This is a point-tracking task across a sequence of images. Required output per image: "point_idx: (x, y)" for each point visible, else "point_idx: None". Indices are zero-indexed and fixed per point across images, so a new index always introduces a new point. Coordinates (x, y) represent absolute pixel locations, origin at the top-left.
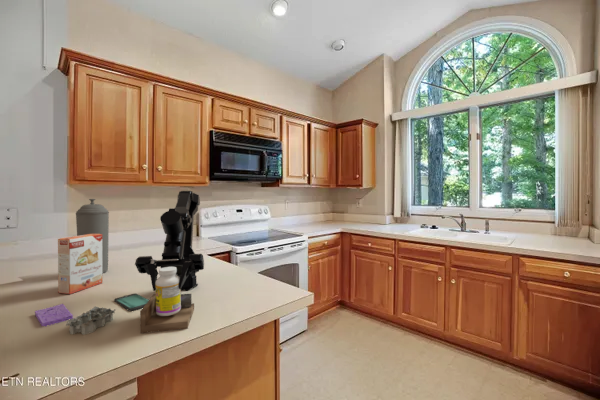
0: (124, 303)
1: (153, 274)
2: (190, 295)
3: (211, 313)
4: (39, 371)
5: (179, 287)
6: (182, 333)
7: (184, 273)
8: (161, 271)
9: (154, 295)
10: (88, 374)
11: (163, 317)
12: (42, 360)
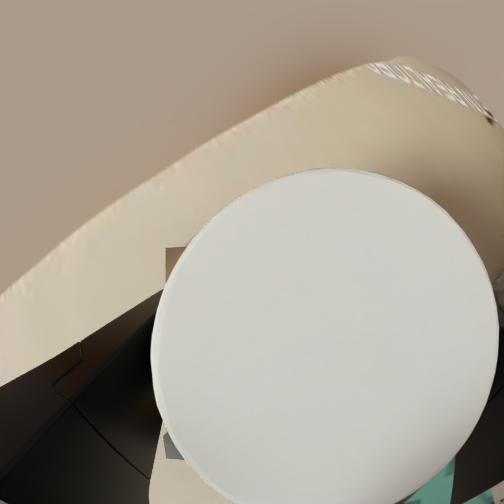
0: None
1: (501, 321)
2: (166, 435)
3: None
4: (466, 116)
5: None
6: (187, 217)
7: (71, 353)
8: (420, 196)
9: None
10: (369, 74)
11: None
12: (494, 155)
